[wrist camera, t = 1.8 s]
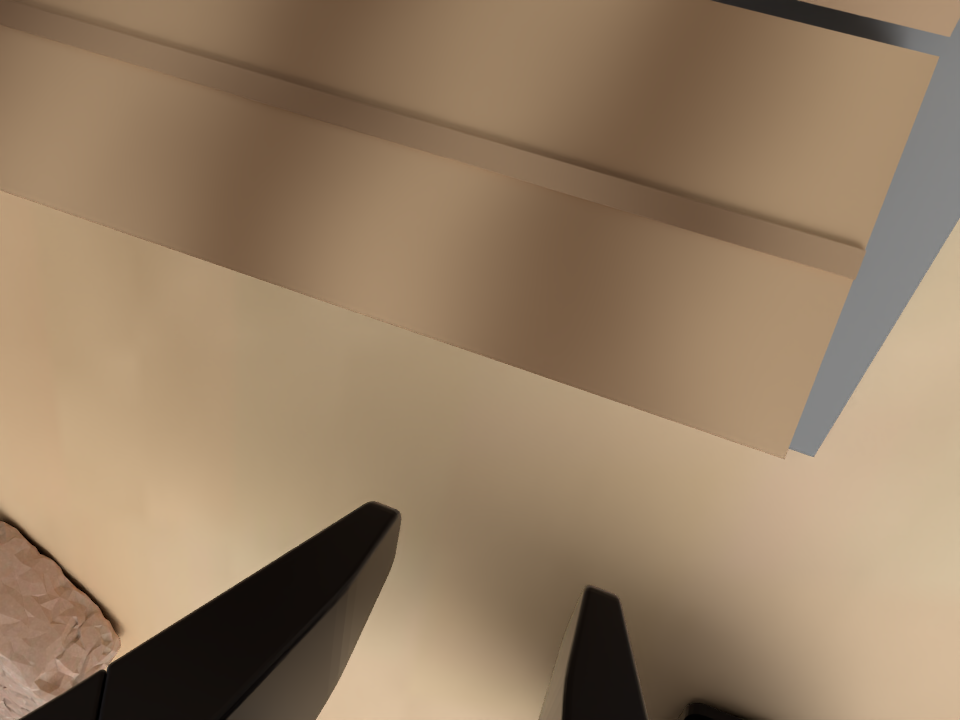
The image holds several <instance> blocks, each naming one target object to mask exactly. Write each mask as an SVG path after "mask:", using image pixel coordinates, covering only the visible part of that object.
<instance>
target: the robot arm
mask: <svg viewBox="0 0 960 720" xmlns="http://www.w3.org/2000/svg"><path fill="white" fill-rule="evenodd" d="M400 525H401V513H400V512H399V511H398V510H396V509H394V508H391V507H389V506H386V505H384V504H381V503H378V502H375V501H371V502H367V503H366V504H364V505H362V506H361V507H359V508H357V509H356V510H354V511H353V512H351V513H349V514H348V515H346V516H345V517H343V518H342V519H340V520H338V521H337V522H335V523H334V524H332V525H330V526H329V527H327V528H326V529H324V530H322V531H321V532H319V533H318V534H316V535H314V536H313V537H311V538H310V539H308V540H306V541H305V542H303V543H302V544H300V545H299V546H297V547H295V548H294V549H292V550H291V551H289V552H287V553H286V554H284V555H283V556H281V557H279V558H278V559H276V560H275V561H273V562H271V563H270V564H268V565H267V566H265V567H263V568H262V569H260V570H259V571H257V572H256V573H254V574H252V575H251V576H249V577H248V578H246V579H244V580H243V581H241V582H240V583H238V584H236V585H235V586H233V587H232V588H230V589H228V590H227V591H225V592H224V593H222V594H220V595H219V596H217V597H216V598H214V599H213V600H211V601H209V602H208V603H206V604H205V605H203V606H201V607H200V608H198V609H197V610H195V611H193V612H192V613H190V614H189V615H187V616H185V617H184V618H182V619H181V620H179V621H177V622H176V623H174V624H173V625H171V626H169V627H168V628H166V629H165V630H163V631H161V632H160V633H158V634H157V635H155V636H154V637H152V638H150V639H149V640H147V641H146V642H144V643H142V644H141V645H139V646H138V647H136V648H134V649H133V650H131V651H130V652H128V653H126V654H125V655H123V656H122V657H120V658H118V659H117V660H115V661H114V662H112V663H110V664H109V665H108V667H107V672H106V671H105V670H103V669H101V670H99V671H97V672H95V673H94V674H92V675H91V676H89V677H88V678H86V679H84V680H83V681H81V682H80V683H78V684H77V685H75V686H73V687H72V688H70V689H69V690H67V691H65V692H64V693H62V694H60V695H59V696H57V697H55V698H54V699H52V700H50V701H49V702H47V703H45V704H44V705H42V706H40V707H39V708H37V709H35V710H34V711H32V712H30V713H28V714H27V715H25V716H23V717H22V718H20V719H18V720H316V718H317V717H318V715H319V714H320V712H321V710H322V709H323V707H324V705H325V704H326V702H327V700H328V699H329V697H330V695H331V693H332V692H333V690H334V688H335V686H336V685H337V683H338V681H339V679H340V677H341V675H342V673H343V671H344V669H345V667H346V665H347V663H348V660H349V658H350V656H351V654H352V652H353V650H354V648H355V645H356V643H357V641H358V639H359V637H360V635H361V632H362V630H363V628H364V626H365V624H366V622H367V620H368V617H369V615H370V613H371V611H372V609H373V607H374V604H375V602H376V600H377V598H378V596H379V594H380V592H381V589H382V587H383V585H384V583H385V581H386V579H387V576H388V574H389V572H390V570H391V567H392V564H393V561H394V558H395V554H396V548H397V543H398V537H399V531H400ZM539 720H649V718H648V714H647V709H646V705H645V701H644V697H643V692H642V688H641V684H640V680H639V676H638V671H637V667H636V663H635V659H634V655H633V650H632V646H631V642H630V638H629V634H628V629H627V625H626V621H625V617H624V613H623V608H622V604H621V601H620V599H619V598H618V596H617V595H615V594H613V593H611V592H608V591H605V590H603V589H600V588H598V587H595V586H593V585H587V586H585V587H584V588H583V590H582V592H581V594H580V597H579V599H578V602H577V604H576V606H575V609H574V611H573V614H572V616H571V618H570V621H569V623H568V626H567V628H566V631H565V634H564V637H563V640H562V643H561V646H560V650H559V653H558V656H557V660H556V663H555V666H554V670H553V673H552V676H551V680H550V683H549V686H548V690H547V693H546V696H545V700H544V703H543V706H542V710H541V713H540V716H539ZM678 720H742V719H740V718H737V717H735V716H732V715H730V714H727V713H725V712H722V711H720V710H718V709H715V708H713V707H710V706H708V705H705V704H701V703H692V704H689V705H688V706H686V708H685V709H684V711H683V712H682V714H681V715H680V717H679V718H678Z"/></svg>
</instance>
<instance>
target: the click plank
mask: <svg viewBox="0 0 960 720" xmlns="http://www.w3.org/2000/svg"><path fill="white" fill-rule="evenodd" d="M938 59H939V56H935V55H931V54H926V53H922V52H918V51H914V50H910V49H906V48H902V47H898V46H894V45H890V44H886V43H882V42H878V41H874V40H870V39H866V38H862V37H857V36H853V35H849V34H845V33H841V32H837V31H833V30H829V29H825V28H821V27H817V26H813V25H809V24H805V23H801V22H797V21H792V20H788V19H784V18H780V17H776V16H772V15H768V14H764V13H760V12H756V11H752V10H748V9H744V8H740V7H736V6H732V5H728V4H723V3H719V2H715V1H711V0H0V190H1V191H4V192H7V193H10V194H13V195H16V196H19V197H21V198H24V199H27V200H30V201H33V202H36V203H39V204H42V205H45V206H48V207H51V208H54V209H56V210H59V211H62V212H65V213H68V214H71V215H74V216H77V217H80V218H83V219H86V220H89V221H91V222H94V223H97V224H100V225H103V226H106V227H109V228H112V229H115V230H118V231H121V232H124V233H126V234H129V235H132V236H135V237H138V238H141V239H144V240H147V241H150V242H153V243H156V244H159V245H161V246H164V247H167V248H170V249H173V250H176V251H179V252H182V253H185V254H188V255H191V256H194V257H196V258H199V259H202V260H205V261H208V262H211V263H214V264H217V265H220V266H223V267H226V268H229V269H231V270H234V271H237V272H240V273H243V274H246V275H249V276H252V277H255V278H258V279H261V280H264V281H266V282H269V283H272V284H275V285H278V286H281V287H284V288H287V289H290V290H293V291H296V292H299V293H301V294H304V295H307V296H310V297H313V298H316V299H319V300H322V301H325V302H328V303H331V304H334V305H336V306H339V307H342V308H345V309H348V310H351V311H354V312H357V313H360V314H363V315H366V316H369V317H371V318H374V319H377V320H380V321H383V322H386V323H389V324H392V325H395V326H398V327H401V328H404V329H406V330H409V331H412V332H415V333H418V334H421V335H424V336H427V337H430V338H433V339H436V340H439V341H441V342H444V343H447V344H450V345H453V346H456V347H459V348H462V349H465V350H468V351H471V352H473V353H476V354H479V355H482V356H485V357H488V358H491V359H494V360H497V361H500V362H503V363H506V364H508V365H511V366H514V367H517V368H520V369H523V370H526V371H529V372H532V373H535V374H538V375H541V376H543V377H546V378H549V379H552V380H555V381H558V382H561V383H564V384H567V385H570V386H573V387H576V388H578V389H581V390H584V391H587V392H590V393H593V394H596V395H599V396H602V397H605V398H608V399H611V400H613V401H616V402H619V403H622V404H625V405H628V406H631V407H634V408H637V409H640V410H643V411H646V412H648V413H651V414H654V415H657V416H660V417H663V418H666V419H669V420H672V421H675V422H678V423H681V424H683V425H686V426H689V427H692V428H695V429H698V430H701V431H704V432H707V433H710V434H713V435H716V436H718V437H721V438H724V439H727V440H730V441H733V442H736V443H739V444H742V445H745V446H748V447H751V448H753V449H756V450H759V451H762V452H765V453H768V454H771V455H774V456H777V457H780V458H783V459H785V456H786V454H787V451H788V448H789V446H790V443H791V441H792V438H793V435H794V433H795V430H796V428H797V425H798V422H799V420H800V417H801V415H802V412H803V409H804V407H805V404H806V402H807V399H808V396H809V394H810V391H811V389H812V386H813V384H814V381H815V378H816V376H817V373H818V371H819V368H820V365H821V363H822V360H823V358H824V355H825V352H826V350H827V347H828V345H829V342H830V339H831V337H832V334H833V332H834V329H835V326H836V324H837V321H838V319H839V316H840V313H841V311H842V308H843V306H844V303H845V301H846V298H847V295H848V293H849V290H850V288H851V285H852V282H853V280H855V279H856V277H857V274H858V271H859V269H860V266H861V264H862V261H863V258H864V256H865V253H866V250H865V249H866V246H867V243H868V241H869V238H870V236H871V233H872V230H873V228H874V225H875V223H876V220H877V218H878V215H879V212H880V210H881V207H882V205H883V202H884V199H885V197H886V194H887V192H888V189H889V186H890V184H891V181H892V179H893V176H894V173H895V171H896V168H897V166H898V163H899V160H900V158H901V155H902V153H903V150H904V147H905V145H906V142H907V140H908V137H909V134H910V132H911V129H912V127H913V124H914V122H915V119H916V116H917V114H918V111H919V109H920V106H921V103H922V101H923V98H924V96H925V93H926V90H927V88H928V85H929V83H930V80H931V77H932V75H933V72H934V70H935V67H936V64H937V62H938Z"/></svg>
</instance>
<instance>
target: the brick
mask: <svg viewBox="0 0 960 720" xmlns="http://www.w3.org/2000/svg"><path fill="white" fill-rule="evenodd" d="M120 646H121V643H120V638H119V637H118V635H117V634H116V633H115V632H114V630H113V628H112V625H111V623H110V621H108V620H106V619H105V618H104V617H103V614H102V612H101V610H100V608H99V607H98V606H97V605H96V604H95V603H94V602H92V601H91V600H90V598H89V597H88V596H87V595H86V594H85V593H83V592H82V591H80V590H79V589H77V588H76V587H75V586H74V585H73V584H72V583H71V582H70V581H69V580H68V579H67V578H66V577H65V576H64V574H63V572H62V570H61V568H60V567H59V566H58V565H57V564H56V563H55V562H54V561H53V560H52V559H50V558H48V557H46V556H44V555H41V554H40V553H39V552H38V550H37V549H36V547H34V546H33V545H31V544H30V543H29V542H28V541H27V540H26V539H25V538H24V537H23V536H22V535H21V533H20V532H19V531H18V530H17V529H16V528H14V527H12V526H10V525H8V524H7V523H5V522H2V521H0V720H18V719H20V718H22V717H23V716H25V715H27V714H28V713H30V712H32V711H34V710H35V709H37V708H39V707H40V706H42V705H44V704H45V703H47V702H49V701H50V700H52V699H54V698H55V697H57V696H59V695H60V694H62V693H64V692H65V691H67V690H69V689H70V688H72V687H73V686H75V685H77V684H78V683H80V682H81V681H83V680H84V679H86V678H88V677H89V676H91V675H92V674H94V673H95V672H97V671H99V670H101V669H104V668H106V667H107V666H108V665H109V663H110V662H111V661H112V659H113V658H114V657H115V655H116V654H117V652H118V650H119V648H120Z"/></svg>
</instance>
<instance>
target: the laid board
mask: <svg viewBox="0 0 960 720" xmlns="http://www.w3.org/2000/svg"><path fill="white" fill-rule="evenodd" d="M798 1H803V2H807V3H811V4H815V5H819V6H823V7H827V8H831V9H836V10H840V11H844V12H848V13H852V14H856V15H860V16H865V17H869V18H873V19H877V20H881V21H885V22H889V23H894V24H898V25H902V26H906V27H910V28H914V29H918V30H923V31H927V32H931V33H935V34H939V35H943V36H947V37H950V36H951V34H952V32H953V30H954V28H955V26H956V24H957V22H958V20H959V18H960V0H798Z"/></svg>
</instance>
